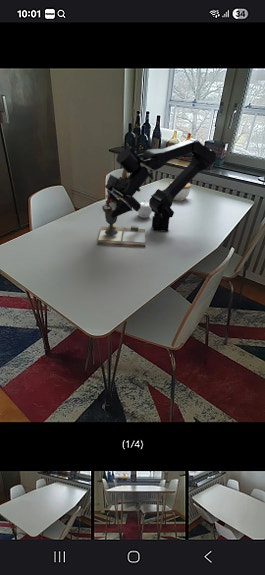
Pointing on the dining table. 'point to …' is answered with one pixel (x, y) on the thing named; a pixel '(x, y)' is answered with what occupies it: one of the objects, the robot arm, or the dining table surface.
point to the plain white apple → (144, 210)
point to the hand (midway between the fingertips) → (107, 214)
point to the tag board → (123, 237)
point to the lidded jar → (183, 192)
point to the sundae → (109, 209)
